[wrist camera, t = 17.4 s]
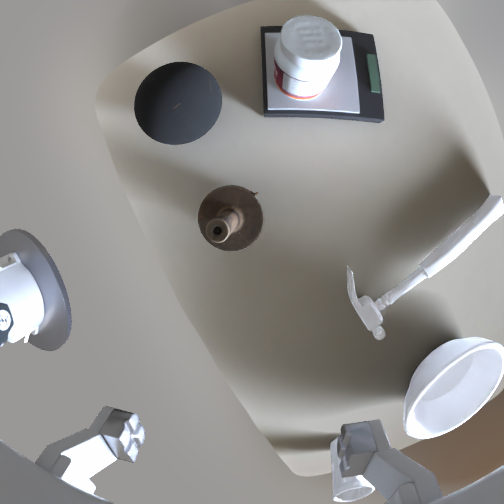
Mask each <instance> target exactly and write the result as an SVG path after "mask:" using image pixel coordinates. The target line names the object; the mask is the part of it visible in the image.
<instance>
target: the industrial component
mask: <svg viewBox="0 0 504 504" xmlns="http://www.w3.org/2000/svg"><path fill="white" fill-rule="evenodd" d="M257 194H259V193H258V192H256V193H253V192H252V191H249V190H248V189H246V188H243V187H240V186H233V185H231V186H224V187H220V188H217V189H215V190H213V191H212V192H211V193H209V194H208V195H207V196H206V197H205V199H204V200H203V202H202V203H201V206H200V208H199V212H198V223H199V228H200V230H201V233H202V234H203V236H204V238H205V239H206V240H207V241H208V242H209V243H210V244H211V245H213V246H214V247H216V248H218V249H221V250H224V251H239V250H242V249H244V248H247V247H248V246H250V245H251V244H252V243H254V241H255V240H256V239H257V238H258V236H259V235H260V233H261V230H262V227H263V223H264V216H263V211H262V208H261V205H260V203H259V202H258V200H257V199H256V198H255V197H254V196H255V195H257Z"/></svg>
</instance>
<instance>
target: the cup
mask: <svg viewBox="0 0 504 504" xmlns="http://www.w3.org/2000/svg"><path fill="white" fill-rule="evenodd" d="M337 440H338V438H336V439H335V440H333V441H332V442H331V444H330V450H331V464H332V477H333V492H332V500H334V501H336V502H350V501H355V500H358V499H361V498H364V497H366V496H367V495H370V494H371V493H372V492H373V491H374V489H375V488H374V487H373V486H372V485H371V484H370V483H369V482H368V481H367V480H366V479H365V478H364V477H363V476H362V475H359V476H352V477H344V478H341V472H340V466H339V465H340V462H341V459H340V458H339V457H338V454H337Z"/></svg>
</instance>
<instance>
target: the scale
mask: <svg viewBox="0 0 504 504" xmlns="http://www.w3.org/2000/svg"><path fill="white" fill-rule="evenodd" d="M282 27H283V26H262V27H261V47H262V73H263V101H264V117H309V118H331V119H345V120H356V121H366V122H375V123H380V122H382V121H384V108H383V97H382V88H381V80H380V72H379V65H378V59H377V53H376V47H375V42H374V37H373V35H371V34H365V33H359V32H353V31H346V30H338V31H339V33H340V35H341V38H342V48H341V50H340V52H339V53H340V61H339V64H338V67H337V69H336V70H335V72H334V74H333V75H332V77H331V79H330V80H329V82H328V84H327V85H326V87H325V89H324V90H323V91H322V93H321V94H320V95H318V96H317V97H315V98H313V99H309V100H296V99H292V98H290V97H288V96H286V95H285V94H283V93H282V92H281V91H280V90H279V88H278V87H277V85H276V83H275V79H274V47H275V43H276V41H277V39H278V37H279V36H280V33H281V29H282Z"/></svg>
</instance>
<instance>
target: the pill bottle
mask: <svg viewBox="0 0 504 504" xmlns="http://www.w3.org/2000/svg"><path fill="white" fill-rule="evenodd" d="M341 48H342V38H341V35H340V33H339V31H338V30H337V28H336V27H335V26H334V25H333V24H332V23H330V22H329V21H327V20H325V19H323V18H321V17H318V16H313V15H300V16H296V17H293V18H291V19H290V20H288V21H287V22H286V23H285V24H284V25H283V27H282V29H281V33H280V36H279V37H278V39H277V41H276V43H275V47H274V79H275V83H276V85H277V87H278V88H279V90H280V91H281V92H282V93H283V94H285V95H286V96H288V97H290V98H292V99H296V100H309V99H313V98H315V97H317V96H318V95H320V94H321V93H322V91H323V90H324V89H325V87H326V85H327V84H328V82H329V80H330V79H331V77H332V75H333V74H334V72H335V70H336V69H337V67H338V64H339V61H340V53H339V52H340V50H341Z"/></svg>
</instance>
